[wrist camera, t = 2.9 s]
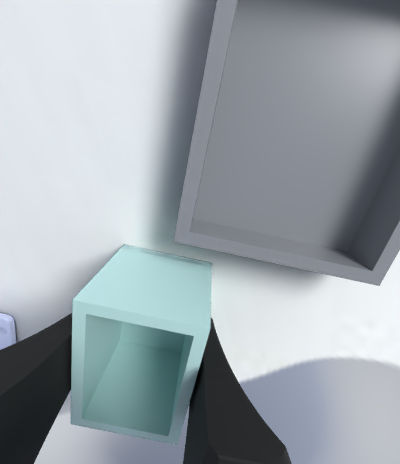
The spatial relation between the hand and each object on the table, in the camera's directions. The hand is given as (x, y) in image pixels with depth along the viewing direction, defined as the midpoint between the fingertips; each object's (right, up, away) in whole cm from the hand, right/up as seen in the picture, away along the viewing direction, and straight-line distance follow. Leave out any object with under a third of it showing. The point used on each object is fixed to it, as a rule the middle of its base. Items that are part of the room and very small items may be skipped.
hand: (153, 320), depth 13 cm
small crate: (0, 0, +1) cm, 1 cm away
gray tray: (+7, +10, -2) cm, 12 cm away
